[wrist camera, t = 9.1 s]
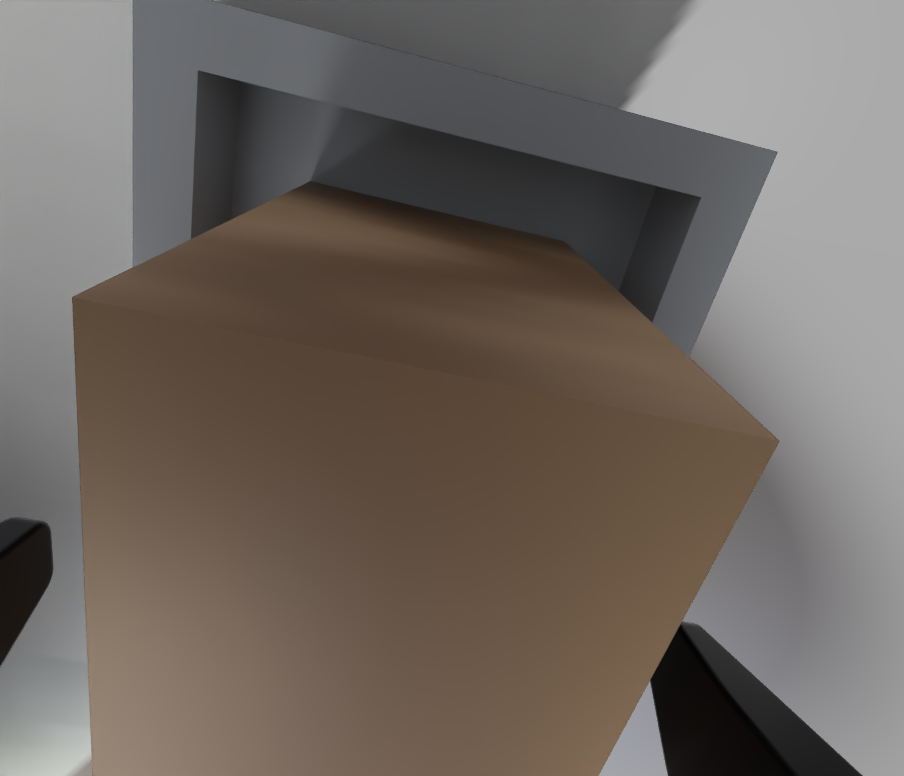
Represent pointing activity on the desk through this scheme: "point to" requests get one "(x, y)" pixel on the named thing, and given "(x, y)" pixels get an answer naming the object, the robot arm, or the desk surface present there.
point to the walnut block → (386, 498)
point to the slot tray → (426, 151)
